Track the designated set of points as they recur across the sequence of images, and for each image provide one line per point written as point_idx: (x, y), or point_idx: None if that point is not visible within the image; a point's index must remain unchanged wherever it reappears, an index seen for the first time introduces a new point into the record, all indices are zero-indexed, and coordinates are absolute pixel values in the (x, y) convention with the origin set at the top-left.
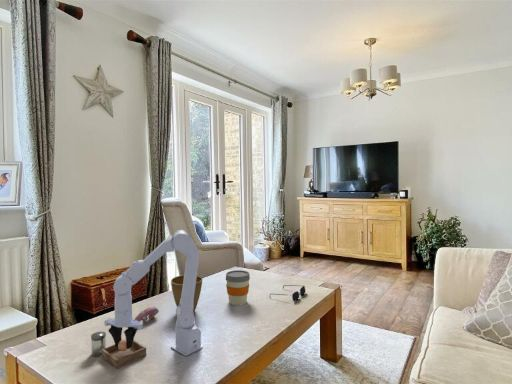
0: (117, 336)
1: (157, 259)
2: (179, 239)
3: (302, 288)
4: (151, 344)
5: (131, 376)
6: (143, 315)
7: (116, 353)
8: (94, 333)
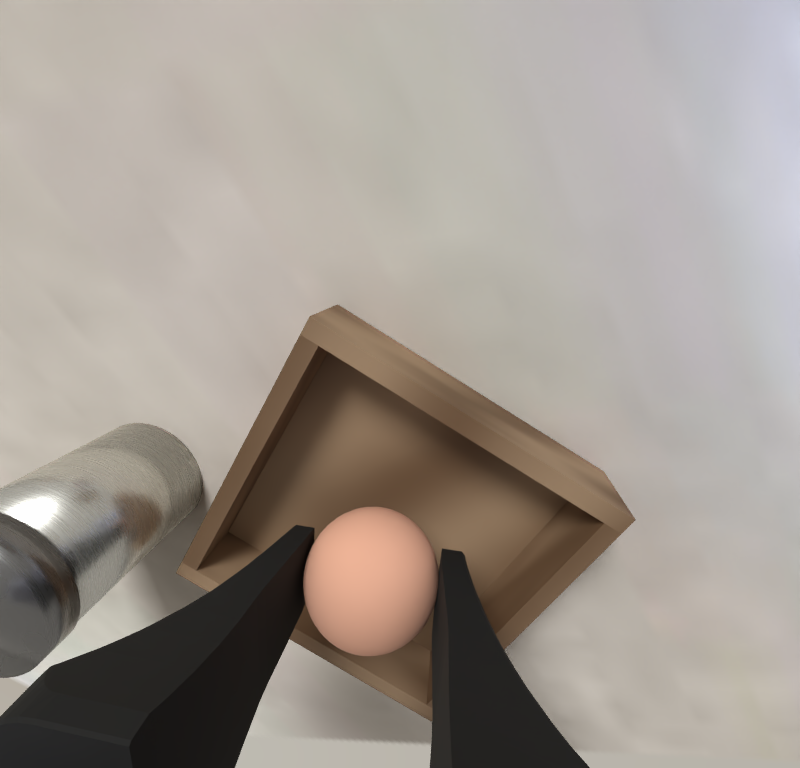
0: (252, 681)
1: None
2: None
3: None
4: (577, 250)
5: (597, 726)
6: None
7: (309, 497)
8: None
